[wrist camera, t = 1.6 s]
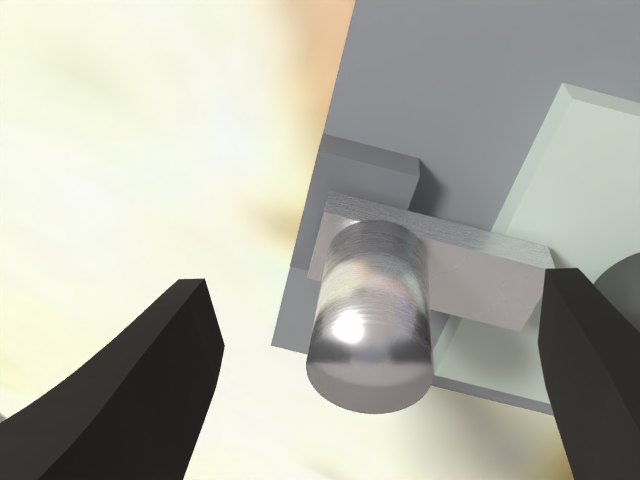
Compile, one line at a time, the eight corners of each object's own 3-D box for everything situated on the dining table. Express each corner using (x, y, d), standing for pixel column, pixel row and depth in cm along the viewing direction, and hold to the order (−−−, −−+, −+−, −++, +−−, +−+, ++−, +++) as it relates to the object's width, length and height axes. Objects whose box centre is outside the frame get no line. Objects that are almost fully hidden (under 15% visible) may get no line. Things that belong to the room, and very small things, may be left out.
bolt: (551, 240, 14) (601, 381, 11) (511, 311, 16) (543, 457, 12) (331, 183, 14) (304, 307, 10) (310, 260, 16) (280, 393, 12)
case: (1102, 35, 13) (1231, 73, 11) (715, 424, 21) (749, 487, 19) (395, -159, 12) (393, -156, 10) (279, 314, 21) (264, 367, 19)
